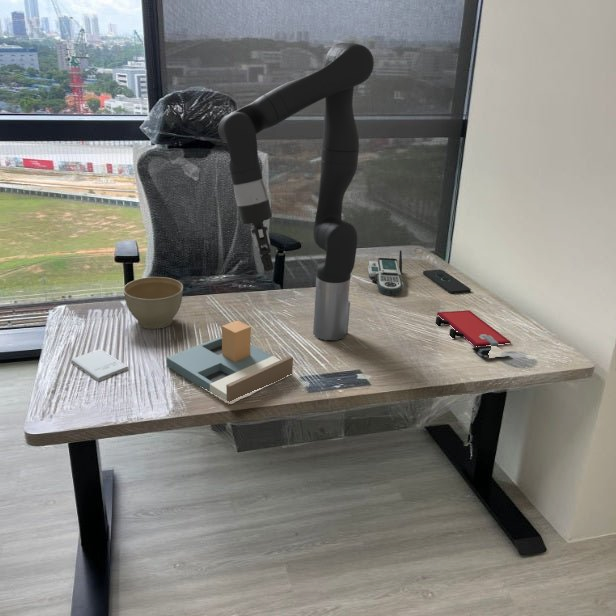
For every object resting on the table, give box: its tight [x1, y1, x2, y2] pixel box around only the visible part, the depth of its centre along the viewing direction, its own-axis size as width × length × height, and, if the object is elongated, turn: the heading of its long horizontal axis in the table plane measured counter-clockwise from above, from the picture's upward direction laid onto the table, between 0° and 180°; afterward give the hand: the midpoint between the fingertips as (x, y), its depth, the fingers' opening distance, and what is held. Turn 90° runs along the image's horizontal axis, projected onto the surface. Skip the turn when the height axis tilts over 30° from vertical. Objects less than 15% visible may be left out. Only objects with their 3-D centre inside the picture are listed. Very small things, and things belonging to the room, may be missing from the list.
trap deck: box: [166, 335, 294, 402], centre depth 147 cm, size 20×24×5 cm
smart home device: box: [422, 268, 472, 295], centre depth 211 cm, size 8×2×20 cm
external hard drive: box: [70, 348, 129, 382], centre depth 147 cm, size 2×8×12 cm
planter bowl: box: [123, 276, 184, 330], centre depth 169 cm, size 16×16×11 cm
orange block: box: [221, 320, 252, 362], centre depth 149 cm, size 5×5×8 cm
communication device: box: [367, 250, 404, 297], centre depth 207 cm, size 12×24×9 cm, turn 178°
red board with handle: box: [435, 310, 512, 360], centre depth 173 cm, size 30×3×15 cm
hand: (267, 266), depth 145 cm, fingers open, 8 cm apart
